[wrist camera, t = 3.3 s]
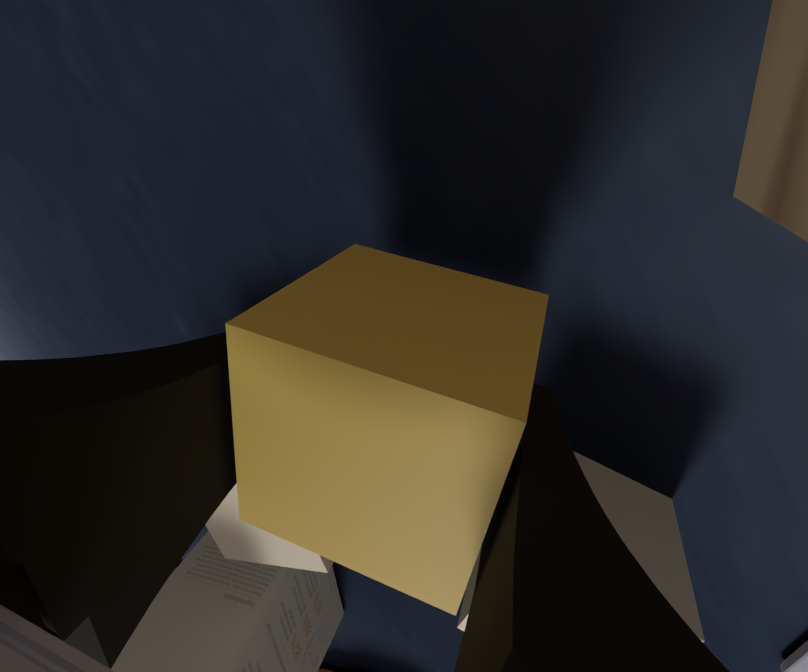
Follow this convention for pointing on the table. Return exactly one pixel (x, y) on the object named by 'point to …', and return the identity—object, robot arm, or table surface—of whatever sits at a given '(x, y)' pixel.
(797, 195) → the maple cube
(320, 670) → the stone
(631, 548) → the grey cube
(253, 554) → the white cube
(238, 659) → the small box
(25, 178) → the table surface
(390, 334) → the mustard cube
